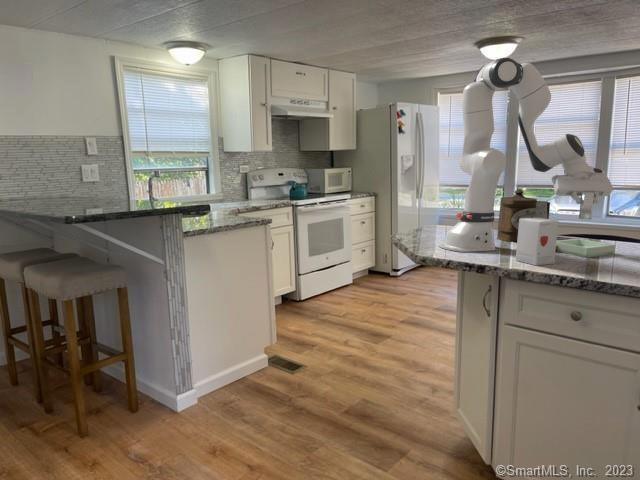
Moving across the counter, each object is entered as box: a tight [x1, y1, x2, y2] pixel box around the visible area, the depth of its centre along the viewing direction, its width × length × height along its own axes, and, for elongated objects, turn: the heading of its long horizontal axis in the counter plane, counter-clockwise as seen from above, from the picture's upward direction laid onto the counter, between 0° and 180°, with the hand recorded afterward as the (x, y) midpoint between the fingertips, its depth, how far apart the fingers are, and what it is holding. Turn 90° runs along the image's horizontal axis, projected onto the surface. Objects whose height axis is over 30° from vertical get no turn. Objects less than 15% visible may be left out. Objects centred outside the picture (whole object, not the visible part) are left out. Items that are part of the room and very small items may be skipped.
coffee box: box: [536, 200, 551, 219], centre depth 213 cm, size 9×6×16 cm
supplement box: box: [515, 218, 559, 266], centre depth 160 cm, size 9×9×15 cm
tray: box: [556, 238, 616, 258], centre depth 179 cm, size 16×15×4 cm
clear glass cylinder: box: [578, 192, 595, 221], centre depth 176 cm, size 4×4×10 cm
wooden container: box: [497, 188, 538, 243], centre depth 204 cm, size 15×15×22 cm
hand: (587, 202), depth 175 cm, fingers closed on clear glass cylinder, 4 cm apart
